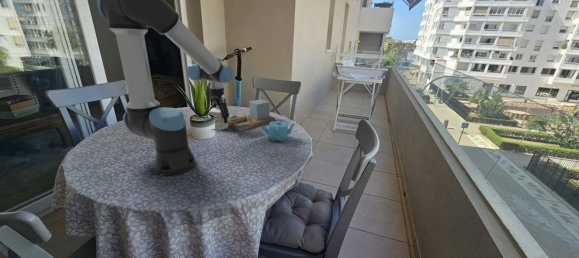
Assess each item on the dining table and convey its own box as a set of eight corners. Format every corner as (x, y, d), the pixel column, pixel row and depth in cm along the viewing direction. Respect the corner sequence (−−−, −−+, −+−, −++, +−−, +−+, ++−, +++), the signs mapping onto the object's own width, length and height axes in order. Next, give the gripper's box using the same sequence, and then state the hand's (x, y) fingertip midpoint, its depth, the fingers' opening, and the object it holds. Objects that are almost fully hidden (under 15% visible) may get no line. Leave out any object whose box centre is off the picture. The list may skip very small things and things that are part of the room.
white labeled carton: (208, 130, 134) (206, 110, 130) (217, 125, 142) (215, 106, 138) (221, 132, 132) (220, 112, 128) (229, 127, 140) (228, 107, 135)
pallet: (274, 123, 148) (274, 117, 147) (239, 132, 132) (239, 126, 131) (261, 117, 158) (261, 112, 156) (227, 125, 142) (226, 119, 141)
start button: (236, 120, 148) (235, 115, 147) (230, 121, 146) (229, 117, 145) (232, 118, 151) (232, 114, 150) (227, 119, 148) (226, 115, 147)
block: (269, 120, 148) (269, 102, 144) (257, 124, 143) (256, 104, 138) (261, 117, 154) (261, 99, 150) (249, 120, 148) (249, 101, 144)
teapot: (259, 144, 119) (259, 125, 116) (262, 133, 132) (262, 116, 129) (295, 145, 119) (296, 126, 115) (295, 134, 132) (296, 117, 129)
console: (239, 121, 148) (239, 117, 147) (229, 124, 144) (229, 119, 143) (233, 118, 153) (233, 114, 152) (223, 121, 149) (223, 116, 148)
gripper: (234, 90, 122) (236, 129, 130) (212, 83, 139) (216, 117, 147) (220, 92, 118) (224, 132, 126) (200, 84, 135) (204, 120, 143)
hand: (219, 124), depth 136 cm, fingers open, 12 cm apart
